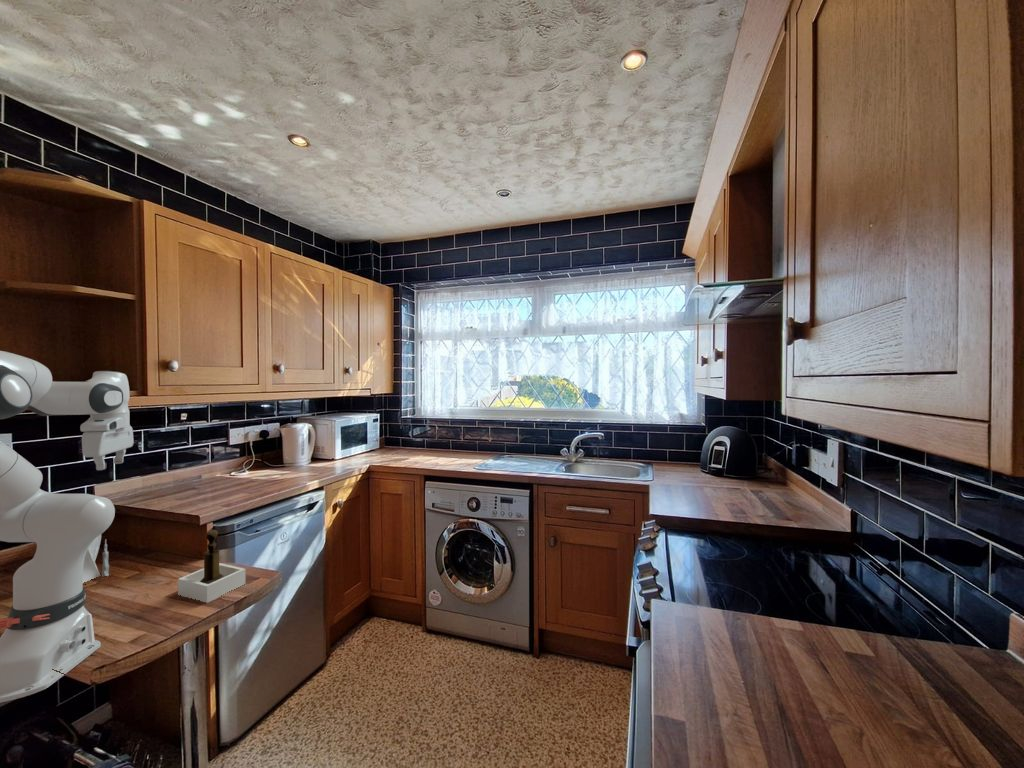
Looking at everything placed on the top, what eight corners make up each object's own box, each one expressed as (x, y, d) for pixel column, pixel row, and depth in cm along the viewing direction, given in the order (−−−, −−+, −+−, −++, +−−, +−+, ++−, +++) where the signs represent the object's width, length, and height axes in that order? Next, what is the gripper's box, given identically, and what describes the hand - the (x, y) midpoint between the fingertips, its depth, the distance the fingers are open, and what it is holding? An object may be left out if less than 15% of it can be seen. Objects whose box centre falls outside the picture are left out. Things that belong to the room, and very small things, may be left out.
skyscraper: (80, 588, 129) (80, 500, 129) (60, 585, 131) (60, 499, 130) (110, 575, 138) (111, 493, 137) (91, 573, 139) (91, 492, 139)
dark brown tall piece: (203, 583, 131) (203, 527, 130) (226, 580, 133) (227, 525, 133) (195, 593, 124) (195, 535, 124) (220, 589, 127) (221, 532, 127)
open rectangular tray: (207, 603, 121) (207, 586, 121) (178, 594, 125) (178, 578, 125) (245, 584, 132) (245, 568, 132) (217, 577, 137) (217, 562, 137)
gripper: (116, 419, 136) (116, 460, 136) (76, 426, 117) (76, 474, 117) (139, 419, 138) (139, 459, 138) (104, 425, 119) (104, 472, 119)
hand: (110, 466), depth 127 cm, fingers open, 8 cm apart
